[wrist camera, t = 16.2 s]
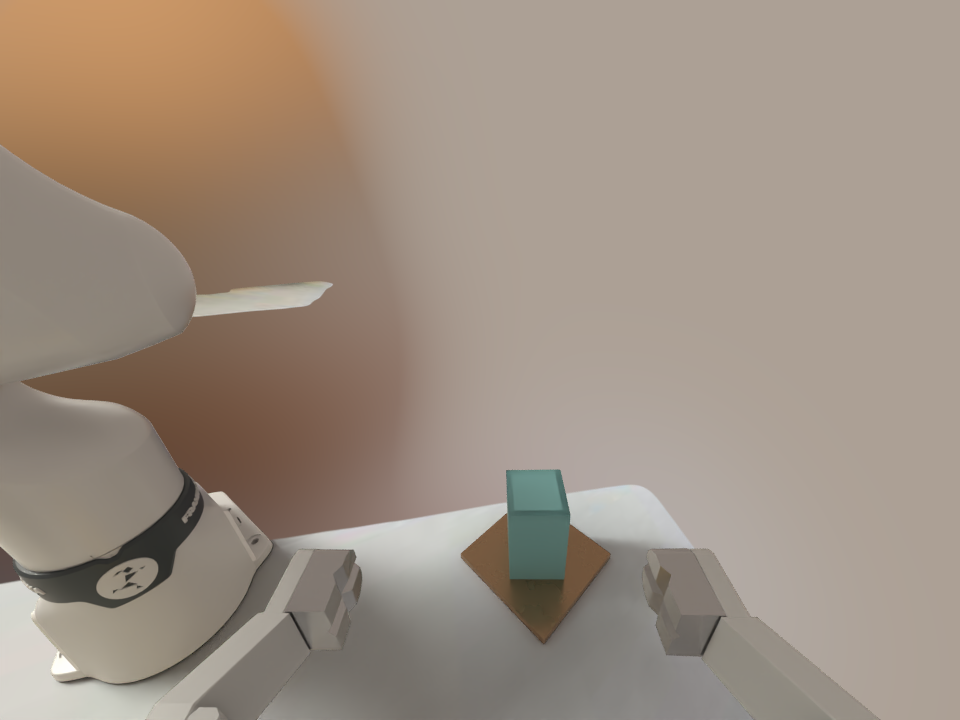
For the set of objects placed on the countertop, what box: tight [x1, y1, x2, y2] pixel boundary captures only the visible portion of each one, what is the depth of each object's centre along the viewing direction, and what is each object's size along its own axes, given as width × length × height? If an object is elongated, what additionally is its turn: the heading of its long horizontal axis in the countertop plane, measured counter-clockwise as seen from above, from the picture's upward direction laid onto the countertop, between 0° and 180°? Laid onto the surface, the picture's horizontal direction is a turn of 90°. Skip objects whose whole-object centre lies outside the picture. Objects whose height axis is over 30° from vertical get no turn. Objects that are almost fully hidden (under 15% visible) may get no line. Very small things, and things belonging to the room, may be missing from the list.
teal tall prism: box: [506, 470, 570, 579], centre depth 38 cm, size 6×6×10 cm
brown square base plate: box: [461, 513, 610, 644], centre depth 39 cm, size 17×17×8 cm
